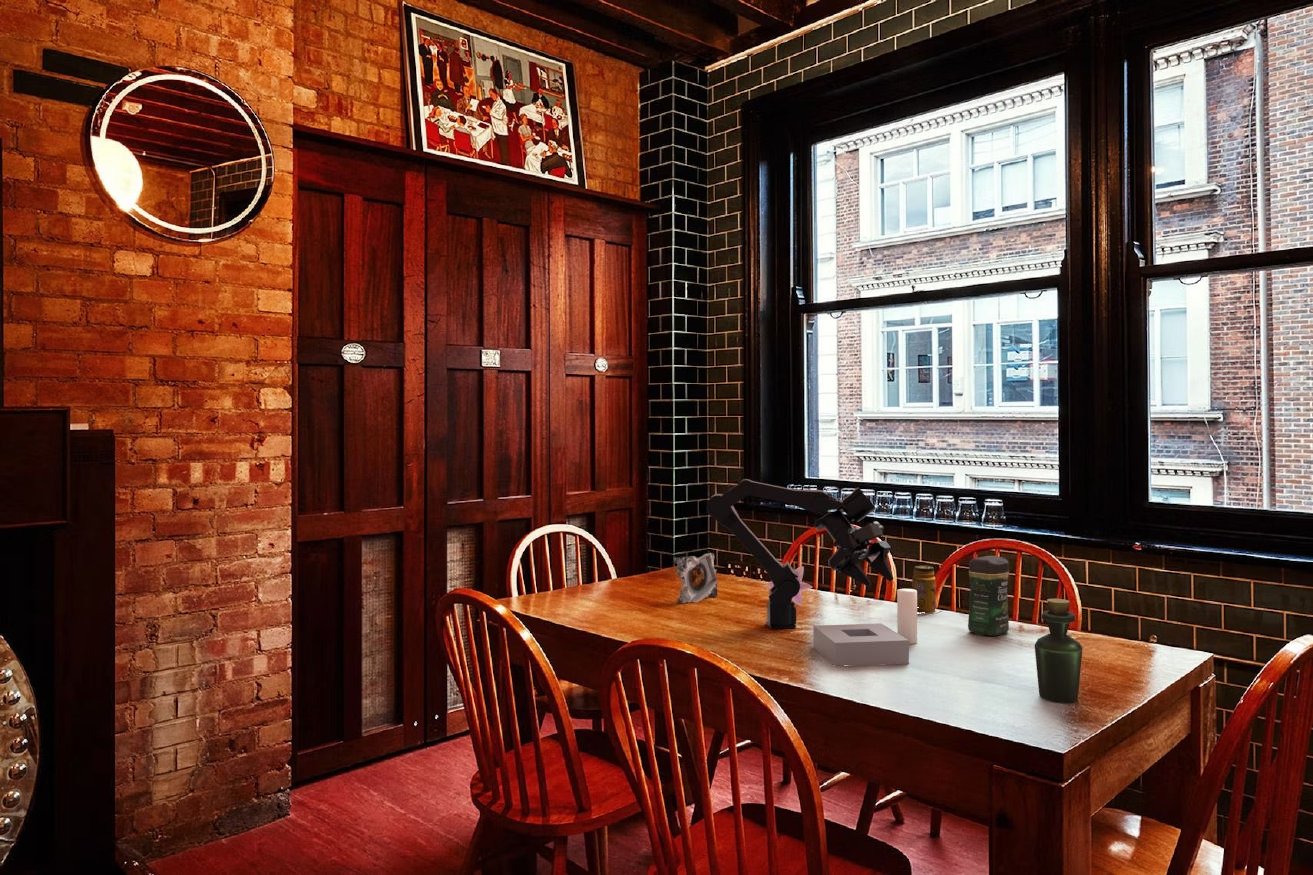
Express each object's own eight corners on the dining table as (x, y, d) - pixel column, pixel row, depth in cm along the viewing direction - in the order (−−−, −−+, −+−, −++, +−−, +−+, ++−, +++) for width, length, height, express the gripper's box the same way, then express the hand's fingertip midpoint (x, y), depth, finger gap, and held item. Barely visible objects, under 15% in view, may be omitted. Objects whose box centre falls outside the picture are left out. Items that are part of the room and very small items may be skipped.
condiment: (942, 611, 238) (942, 567, 238) (921, 615, 233) (921, 570, 233) (920, 607, 244) (920, 563, 244) (900, 610, 239) (900, 566, 239)
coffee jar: (993, 638, 207) (993, 560, 207) (963, 632, 213) (962, 556, 213) (1014, 632, 213) (1014, 555, 213) (984, 626, 219) (984, 552, 219)
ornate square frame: (706, 595, 263) (706, 551, 263) (717, 597, 260) (717, 553, 260) (673, 603, 252) (673, 557, 252) (684, 605, 249) (684, 558, 249)
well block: (835, 666, 184) (835, 642, 184) (813, 647, 200) (813, 625, 200) (908, 663, 186) (908, 640, 186) (881, 645, 202) (881, 623, 202)
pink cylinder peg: (901, 644, 202) (901, 592, 202) (894, 639, 207) (894, 589, 207) (920, 643, 203) (920, 591, 203) (912, 639, 207) (912, 588, 207)
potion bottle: (1031, 689, 167) (1031, 595, 167) (1078, 693, 165) (1078, 597, 165) (1037, 702, 160) (1037, 603, 159) (1086, 706, 157) (1086, 606, 157)
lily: (761, 604, 255) (761, 578, 250) (785, 583, 262) (785, 558, 257) (795, 622, 247) (796, 595, 243) (819, 600, 255) (820, 574, 250)
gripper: (838, 514, 208) (878, 565, 200) (884, 508, 220) (923, 557, 212) (812, 544, 214) (849, 595, 206) (857, 537, 226) (895, 585, 218)
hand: (880, 582), depth 210 cm, fingers open, 9 cm apart
